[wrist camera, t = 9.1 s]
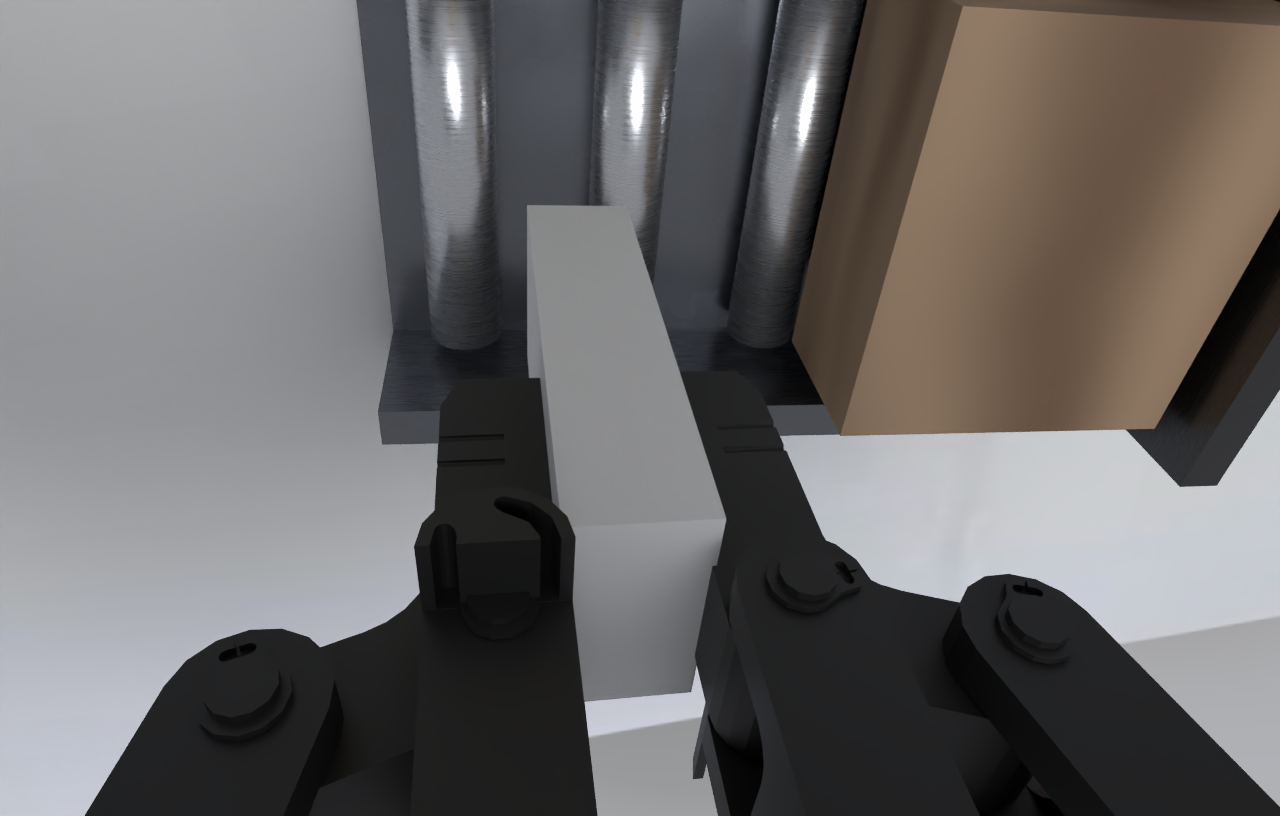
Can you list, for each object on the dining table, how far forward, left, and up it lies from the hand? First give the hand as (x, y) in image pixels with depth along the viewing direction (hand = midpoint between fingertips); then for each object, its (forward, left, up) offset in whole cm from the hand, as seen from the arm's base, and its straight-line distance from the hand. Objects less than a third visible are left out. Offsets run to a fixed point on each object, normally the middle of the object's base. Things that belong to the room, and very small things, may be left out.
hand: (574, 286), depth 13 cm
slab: (+10, -1, -6) cm, 12 cm away
